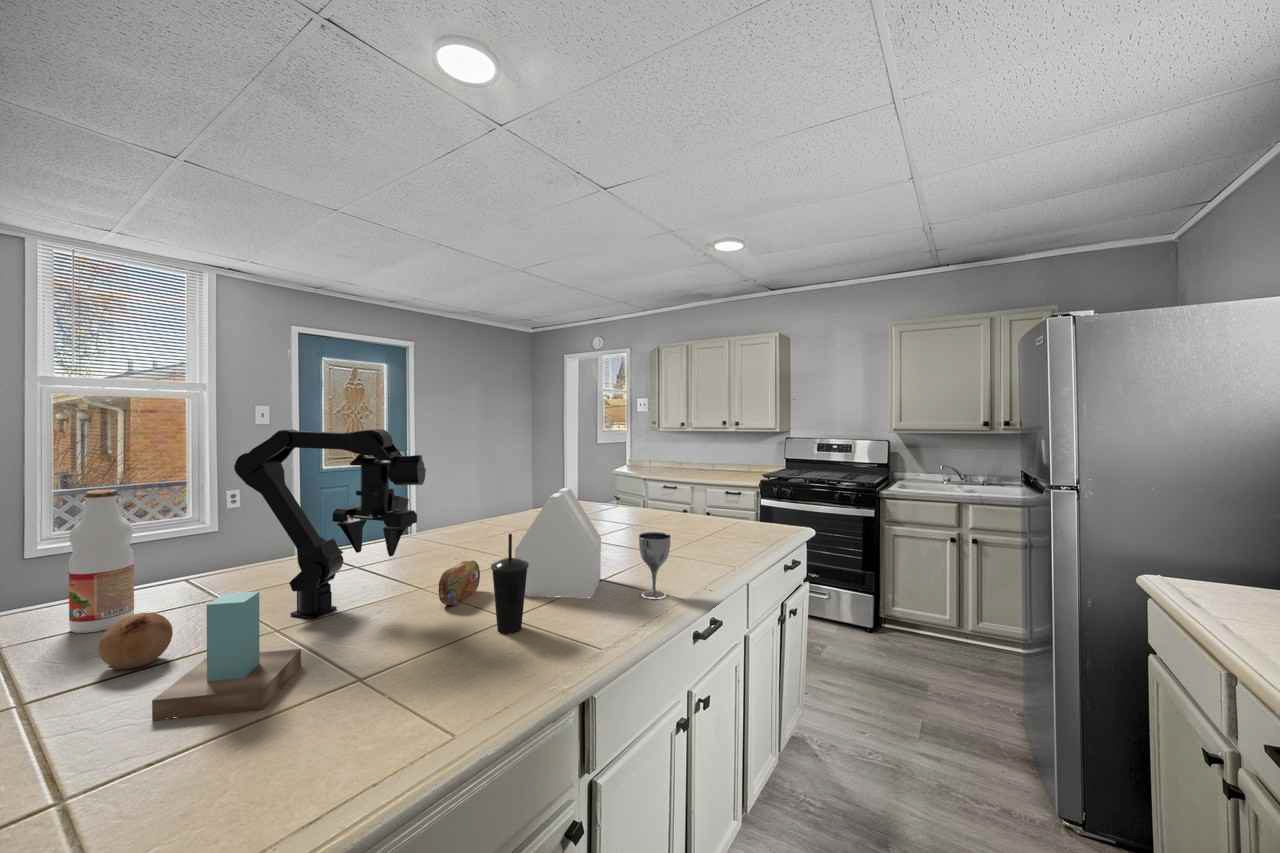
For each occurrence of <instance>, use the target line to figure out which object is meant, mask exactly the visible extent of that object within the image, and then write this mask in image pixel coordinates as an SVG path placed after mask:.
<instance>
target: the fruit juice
mask: <svg viewBox="0 0 1280 853" xmlns="http://www.w3.org/2000/svg"><path fill="white" fill-rule="evenodd" d="M83 494H84V495H83V497H84V500H85V501H86V507H85V510H84V513H83V515H82V517H81V519H80V520H79V522H77V523H76V524H75V525H74V526H73V528H72V529H71V530H70V532H69V543H70V545H71V547H72V553H71V555H70V557H69V561H68V627H69V630H70V631H71V632H72V633H75V634H76V633H77V634H88V633H89V632H90V633H95V632H102V631H101V630H103V631H107V630H108V629H109V628H110V627H111V626H112V625H113V624H115V623H116V622H117V621H119V620H121V619H123V618H125V617H128V616H130V615H134V614H135V577H134V576H135V575H134V574H135V570H134V568H135V559H134V557H135V556H134V551H133V549H132V547H131V545H130V543H131V541H132V540H131V539H132V537H133V532H134V531H133V526H132V524H131V522H130V521H128V520H127V519H126V518H125V517H124V516H123V515H122V513H121V512H120V509H119V506H118V503H117V499H118V498H119V496H120V495H119V490H117V489H97V490H96V489H95V490H89V491H85V492H84V493H83Z"/></svg>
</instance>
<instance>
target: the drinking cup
mask: <svg viewBox="0 0 1280 853" xmlns="http://www.w3.org/2000/svg"><path fill="white" fill-rule="evenodd" d="M512 548H513V533H508V551H507V552H508V554H507V555H508V557H507V558H506V557H505V558H501V559H499V560H498V561H495V562H493V563H492V564H491V566H490V569H491V572H492V581H493V593H494V606H495V616H496V618H495V619H496V627H497V628H496V629H497V632H498V633H499V632H500V633H499V634H501V633H505V634H504V635H512V633H513V634H516V633H515V632H517V633H519V632H520V631H521V630H522V625H523V624H522V623H523V616H524V604H525V597H526V596H525V586H526V576H527V568H528V567H529V563H528V562H526V561H523V560H521V559H518V558H515V557H512V556H513V551H512V550H513V549H512ZM518 631H519V632H518ZM509 633H511V634H509Z"/></svg>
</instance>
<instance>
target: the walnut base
mask: <svg viewBox="0 0 1280 853" xmlns="http://www.w3.org/2000/svg"><path fill="white" fill-rule="evenodd" d="M259 655H260V663H259V664H258V665H257V666H256V667H255V668H254V669H253V670H252V671H251V672H250V673H249V674H248V675H247V676H246V677H245V678H240V679H229V680H218V681H207V657H206V658H205V659H203V660H202V661H201V662H200V663H198V664H197V665H195V666H194V667H193V668H192V669H190V670H189V671H188V672H186V673H185V674H184V675H183V676H181V677H180V678H179V679H178V680H176V681H175V682H174V683H172V684H171V685H170V686H169V687H167V688H166V689H164V691H162V692H161V693H160V694H158V695H157V696H156V697H154V698H153V699H152V700H151V713H152V714H151V717H152V718H151V721H152V720H155V721H160V720H159V719H165V720H167V719H166V718H173V717H185V718H190V717H189V716H195V717H199V716H198V715H204V716H212V715H211V714H214V715H223V714H231V713H233V714H234V713H242V712H243V713H244V712H252V711H262V710H264V709H265V708H266V707H267V705H268V704H269V703H270V702H271V700H272V699H273V698H274V697H276V695H277V694H278V693H279V692H280V690H281V689H282V688H283V687H284V685H285V684H287V682H288V681H289V680H290V679H291V678H292V677H293V676H294V675H295V673H296V672H297V670H299V669H300V668H301V667H302V649H301V648H296V649H295V648H294V649H284V650H282V649H281V650H270V651H269V650H268V651H259ZM298 668H299V669H298ZM209 714H210V715H209ZM196 715H197V716H196Z"/></svg>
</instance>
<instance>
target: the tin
mask: <svg viewBox="0 0 1280 853" xmlns="http://www.w3.org/2000/svg"><path fill="white" fill-rule="evenodd" d="M480 579H481V570H480V567H479V564H478V563H477V561H476V560H465V561H464V560H463V561H461V562H460V563H457V564H456V565H454V566H452V567H450V568H449V569H446V570H445V571H444V572H443V573H442V574H441V576H440V578H439V582H438V596H439V597H438V598H439V599H438V600H439V602H441V603H442V605H445V606H453V607H454V606H457V605H459V604H461V603H462V602H463V601H465V600H467V599H469V597H471V596H473V595H474V594H475V593H476V591H477V590H478V587H479V584H480Z"/></svg>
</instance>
